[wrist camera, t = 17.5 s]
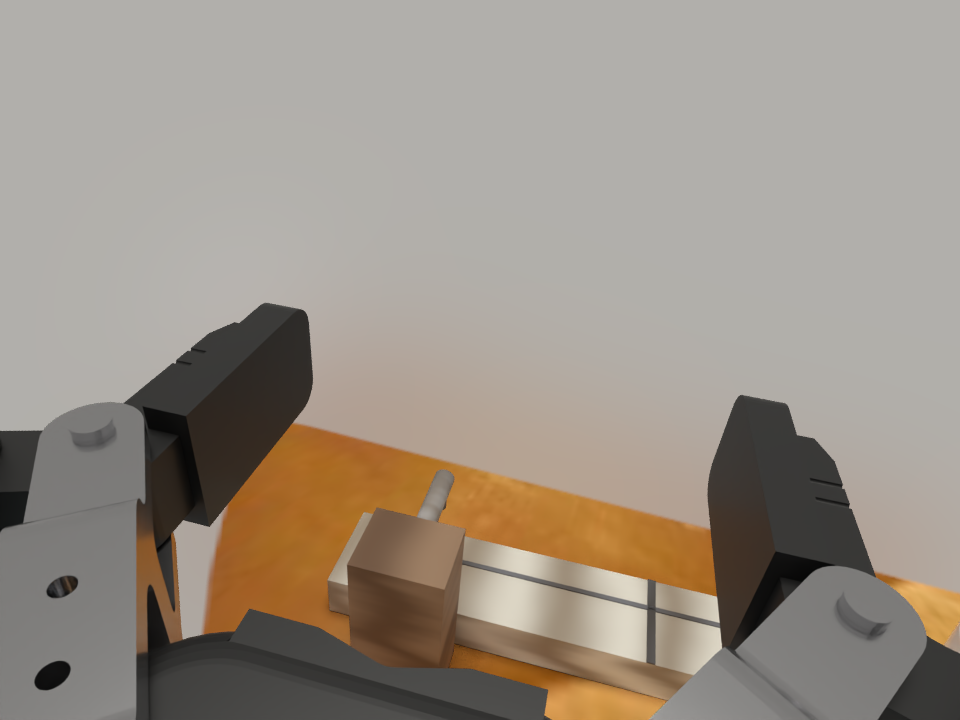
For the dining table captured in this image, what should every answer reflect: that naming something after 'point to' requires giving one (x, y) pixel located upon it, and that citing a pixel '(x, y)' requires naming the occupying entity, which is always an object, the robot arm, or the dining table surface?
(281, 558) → the dining table surface
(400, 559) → the upright wooden pillar
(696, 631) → the batten
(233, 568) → the dining table surface
